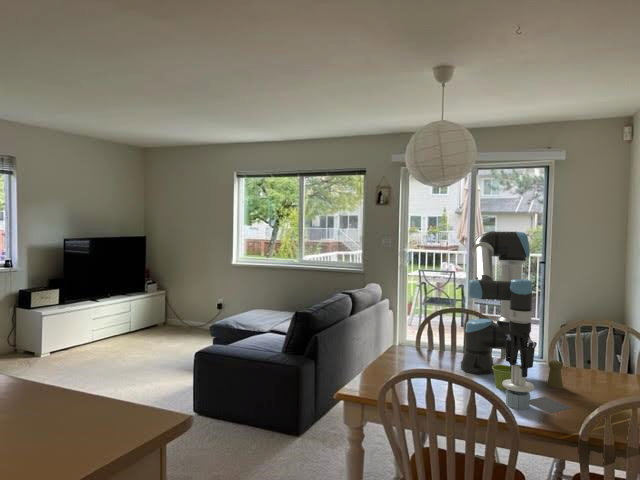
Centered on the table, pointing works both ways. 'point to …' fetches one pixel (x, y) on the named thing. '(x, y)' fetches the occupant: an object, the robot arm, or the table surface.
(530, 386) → the lid
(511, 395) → the bowl
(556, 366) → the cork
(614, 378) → the table surface
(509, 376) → the plant pot
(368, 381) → the table surface
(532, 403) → the mat
